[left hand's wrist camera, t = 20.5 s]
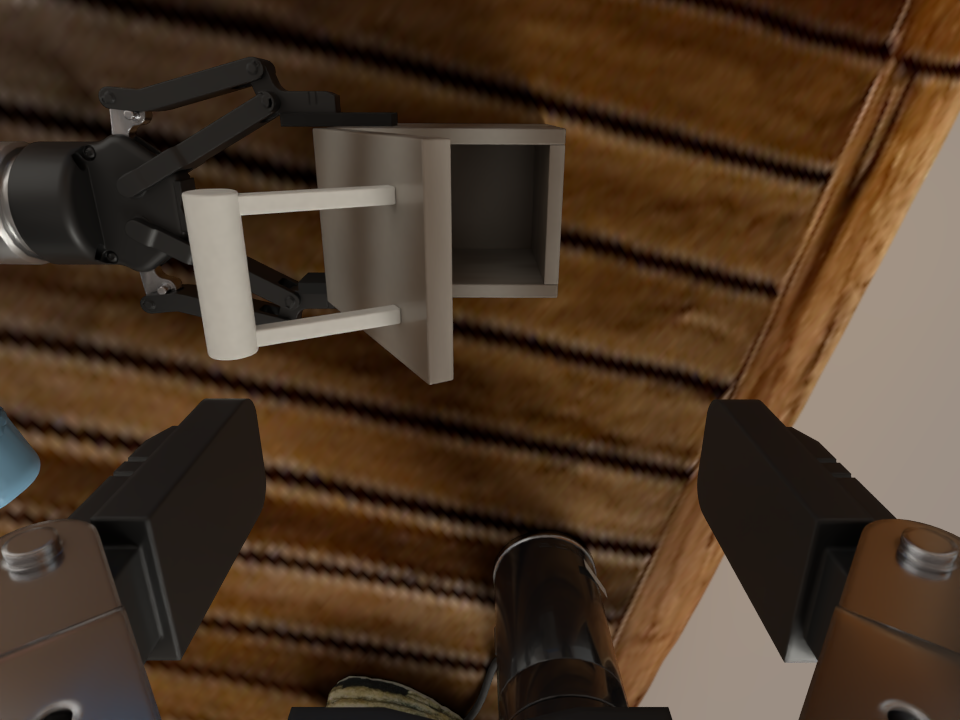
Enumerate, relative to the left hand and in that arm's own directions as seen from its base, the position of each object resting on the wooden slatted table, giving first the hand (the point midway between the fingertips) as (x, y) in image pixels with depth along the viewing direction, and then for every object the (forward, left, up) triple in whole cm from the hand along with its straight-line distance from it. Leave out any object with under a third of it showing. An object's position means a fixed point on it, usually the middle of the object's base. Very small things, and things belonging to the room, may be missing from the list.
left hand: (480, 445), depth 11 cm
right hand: (-2, +5, -31) cm, 31 cm away
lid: (-2, +4, -20) cm, 21 cm away
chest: (-1, +2, -37) cm, 37 cm away
